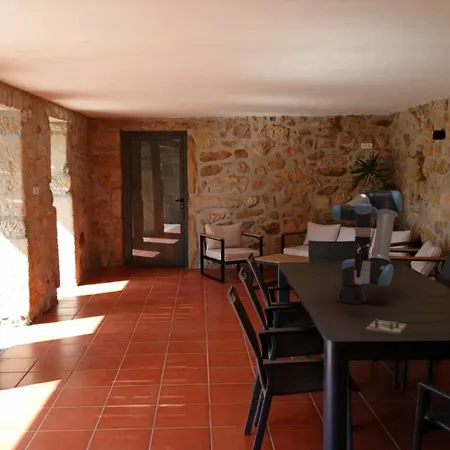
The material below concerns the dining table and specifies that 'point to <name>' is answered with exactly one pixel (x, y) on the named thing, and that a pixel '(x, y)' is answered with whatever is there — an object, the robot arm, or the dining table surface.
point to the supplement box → (363, 273)
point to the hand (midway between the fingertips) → (361, 282)
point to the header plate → (386, 327)
